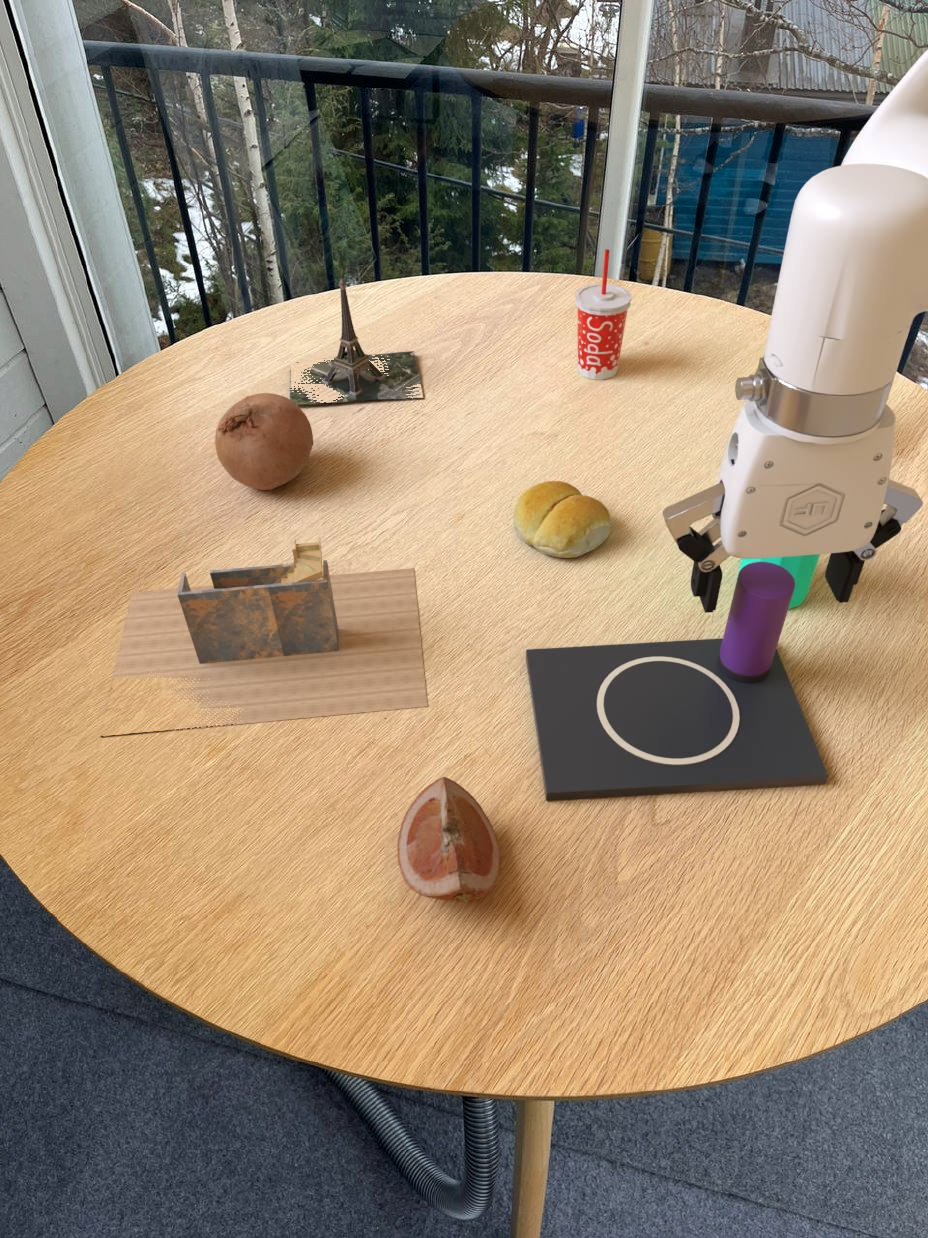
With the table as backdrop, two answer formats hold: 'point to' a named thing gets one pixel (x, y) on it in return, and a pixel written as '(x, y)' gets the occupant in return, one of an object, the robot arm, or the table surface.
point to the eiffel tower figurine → (361, 369)
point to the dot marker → (755, 621)
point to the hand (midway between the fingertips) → (770, 594)
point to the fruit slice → (448, 845)
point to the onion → (264, 441)
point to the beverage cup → (601, 326)
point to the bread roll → (561, 520)
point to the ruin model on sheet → (282, 640)
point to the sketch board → (664, 722)
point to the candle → (793, 572)
